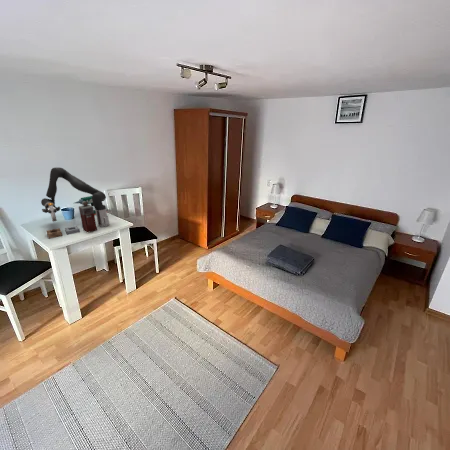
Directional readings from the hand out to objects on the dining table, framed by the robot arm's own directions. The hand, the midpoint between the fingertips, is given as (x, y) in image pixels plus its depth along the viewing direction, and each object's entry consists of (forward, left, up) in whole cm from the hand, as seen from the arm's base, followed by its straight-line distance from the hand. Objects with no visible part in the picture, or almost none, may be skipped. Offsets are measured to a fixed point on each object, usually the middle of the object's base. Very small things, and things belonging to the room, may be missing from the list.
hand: (52, 211), depth 207 cm
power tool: (+4, -56, -22) cm, 60 cm away
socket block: (-6, -10, -22) cm, 25 cm away
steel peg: (+2, -2, -9) cm, 9 cm away
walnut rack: (+3, 0, -22) cm, 22 cm away
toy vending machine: (-21, -15, -22) cm, 34 cm away
